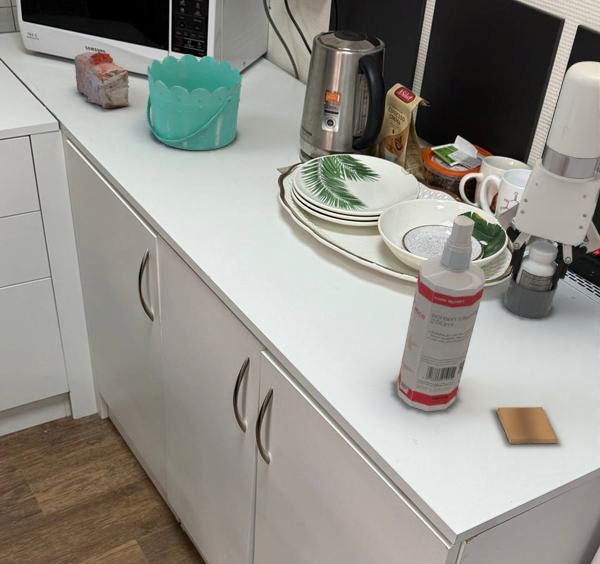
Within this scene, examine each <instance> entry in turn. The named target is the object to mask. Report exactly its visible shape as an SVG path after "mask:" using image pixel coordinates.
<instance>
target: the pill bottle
mask: <svg viewBox="0 0 600 564" xmlns="http://www.w3.org/2000/svg"><path fill="white" fill-rule="evenodd" d="M558 253H559V249H558V247H557V246H556V245H554V244H553V243H550V242H547V241H538V240H537V241H534V242H532V243H531V244H530V247H529V250H528V254H526V255H524V256H523V258H522V260H521V263H520V266H519V270H518V273H517V277H516V280H515V282H516V283H517V284H518V285H519V286H521V287H523V288H525V289H528V290H531V291H536V292H547V291H550V290H551V287H552V282H553V279H554V276H555V272H556V269H557V266H558V263H557V262H556V261H555V260H557V256H558Z"/></svg>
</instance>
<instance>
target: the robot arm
mask: <svg viewBox="0 0 600 564" xmlns="http://www.w3.org/2000/svg"><path fill="white" fill-rule="evenodd" d="M563 79H564V80H563V82H562V86H561V89H560V91H559V92H560V93H559V96H558V99H557V103H556V107H555V111H554V114H553V118H552V122H551V125H550V127H549V128H550V129H549V132H548V136H547V140H546V142H545V146H544V150H543V153H542V157H541V158H538V159H536V161H535V163H534V165H533V166H532V169H531V172H530V174H529V176H528V178H527V181H526V184H525V187H524V189H523V192H522V195H521V198H520V200H519V202H518V203H516V204H515V205H513V206H511V207H510V208H508V209H507V210H505V211H503V212H502V213H500V214H499V216H498V218H497V222H498V224H499V225H500V227H501V228H502V229H503V230H504V231H505V234H506V236H507V237H508V239H509V240H510V242H511V244H512V248H513V251H512V254H511V258H510V261H509V265H510V266H513V267H512V270H511V274H515V273H516V274H517V272H518V270H519V266H520V263H521V260H522V258H523V257H524V256H525V252H526V249H527V242H526V241H527V239H528V238H529V237H530V235H531V236H534V237H537V238H541V239H543V240H544V239H545V240H548V241H552V242H556V243H559V244H562V254H561V256H560V258H559V261H558V263H557V269H556V272H555V276H554V279H553V282H552V284H553V285H555V286H557V283H558V284H559V281H560V280H565V278H566V275H567V273H568V270H569V266H570V264H571V263H572V262H573V261H575V260H577V259H579V258H581V257H583V256H585V255H586V254H589V253H593V252H594V251H597V250H599V249H600V234H599V232H598V230H597V228H596V225H595V224H594V222H593V217H594V213H595V210H596V207H597V203H598V199H599V195H600V62H599V61H580V62H576V63H574V64H573V65H571V66H570V67H569V68H568V69H567V71H566V73H565V76H564V78H563ZM513 219H514V222H513V221H512V220H513ZM586 237H587V240H588V241H586V242H584V240H585V238H586Z"/></svg>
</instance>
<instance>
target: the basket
mask: <svg viewBox="0 0 600 564" xmlns="http://www.w3.org/2000/svg"><path fill="white" fill-rule="evenodd" d="M146 72H147V82H148V91H149V95H148V99H147V103H146V120H147V124H148V127H149V129H150V131H151V132H152V133H153V134H154V136H155V138H156V139H157V140H158V141H159V142H161V143H163V144H165V145H166V146H170V147H173V148H177V149H179V150H180V149H182V150H188V151H189V150H190V151H207V150H209V151H210V150H215V149H219V148H223V147H226V146H228V145H230V144H231V143H232V142H233V141H234V140H235V138H236V135H237V126H238V117H239V116H238V115H239V107H240V102H241V89H242V81H243V73H241V74H240V69H239V67H238V66H234V67H233V68H232V66H231V64H230V62H229V61H228V60H226V59H222V60H220V61H219V62H217V60H216V59H215V58H214V57H213V56H210V55H204V56H202V57H201V58H200V59H199V60H198V59H197V57H196V56H195V55H194V54H190V53H188V54H187V53H186V54H184V55H182V56H181V57H180V59H179V60H178V58H177V57H175V56H173V55H167V56H165V57H163V59H162V62H160V61H159V60H158V59H153V60H152V61H151V64H150V66H149V65H147V66H146ZM151 117H152V118H151ZM151 119H152V120H151Z"/></svg>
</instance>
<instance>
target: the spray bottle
mask: <svg viewBox="0 0 600 564" xmlns="http://www.w3.org/2000/svg"><path fill="white" fill-rule="evenodd" d="M474 227H475V221H474V220H473V219H472V218H470V217H468V216H466V215H464V214H463V215H457V216H455V217H454V219H453V223H452V227H451V232H450V235H449V236H448V238H446V241H445V242H444V246H443V250H442V252H441V256H431V257H429V258H427V260H424V262H422V263H420V265H419V270H418V276H417V280H416V285H415V292H414V296H413V301H412V307H411V311H410V317H409V321H408V327H407V332H406V337H405V341H404V342H405V343H404V348H403V352H402V358H401V363H400V369H399V373H398V379H397V396H398V397H399V398H400V399H401V400H402V401H403V402H405V403H406V405H408V406H409V407H411V408H414V409H418V410H421V411H424V412H435V411H445V410H447V408H449V407H450V406H451V405H452V404H453V403H454V402H456V398H457V395H458V390H459V386H460V382H461V378H462V375H463V370H464V367H465V364H466V359H467V355H468V352H469V349H470V344H471V339H472V335H473V332H474V328H475V325H476V320H477V316H478V312H479V308H480V305H481V301H482V297H483V294H484V289H485V286H486V282H487V280H486V276H485V271H484V269H483V268H481V267H479V266H478V265H477V264H475V263H474V262H472V261H471V260H472V254H473V240H472V236H473V231H474Z"/></svg>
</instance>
